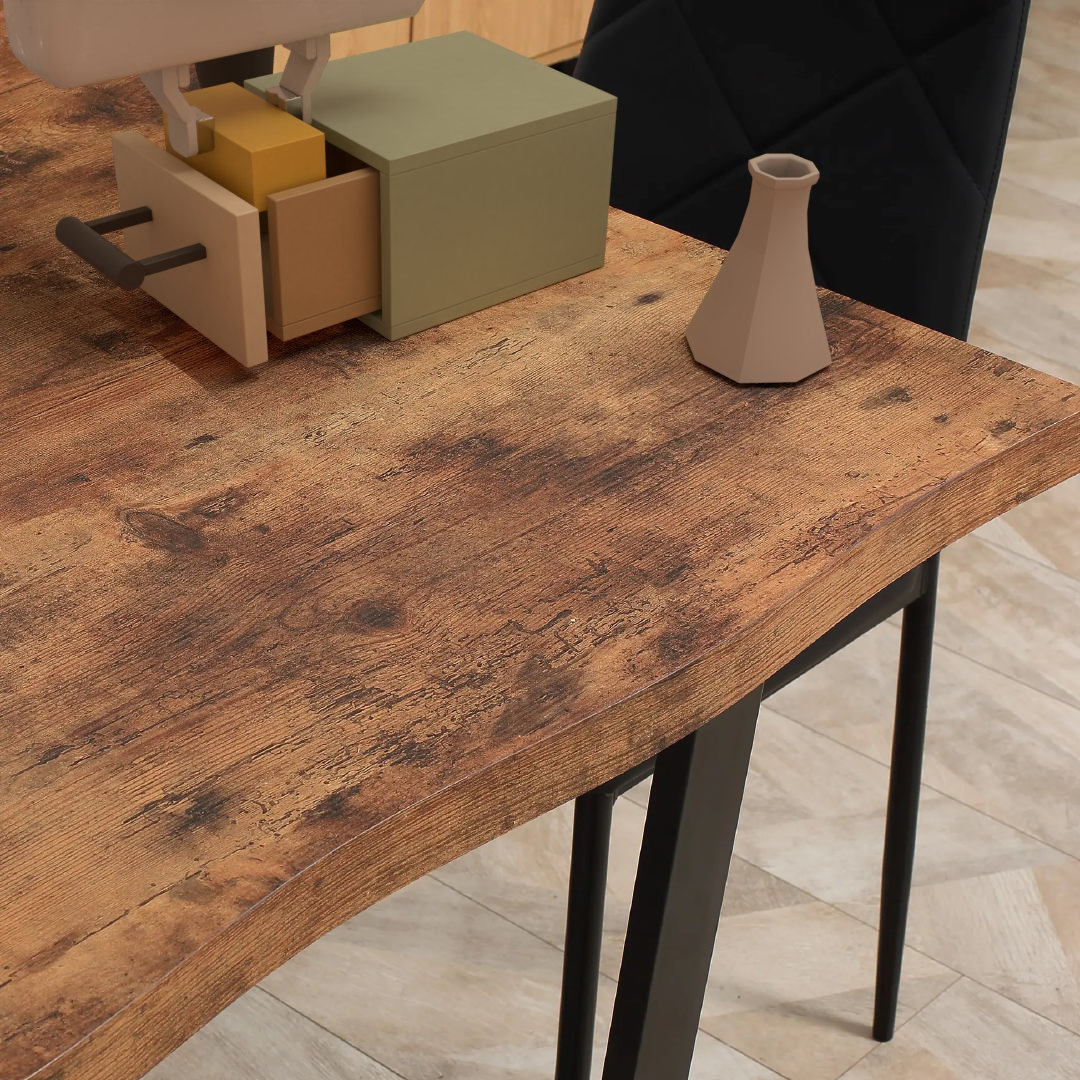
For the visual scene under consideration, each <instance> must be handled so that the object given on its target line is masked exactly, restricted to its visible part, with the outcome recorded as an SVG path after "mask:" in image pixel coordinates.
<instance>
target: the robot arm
mask: <svg viewBox="0 0 1080 1080" xmlns="http://www.w3.org/2000/svg"><path fill="white" fill-rule="evenodd" d="M425 1H426V0H2V4H3V12H4V21H5V27H6V33H7V38H8V43H9V46H10V49H11V52H12V54H13V55H14V56H15V58H16V59H17V60H18V61H19V63H21V64H22V65H23V66H24V67H25V68H26V69H27V70H29V71H30V72H32V74H34V75H36V76H37V77H38V78H40V79H41V80H43V81H45V82H47V84H49V85H51V86H53V87H55V88H57V89H59V90H67V91H68V90H73V89H78V88H84V87H87V86H92V85H97V84H101V83H106V82H110V81H111V82H112V81H115V80H120V79H125V78H130V77H134V76H135V77H136V76H139V80H140V81H141V82H142V83H143V85H144V86H145V88H146V89H147V91H148V92H149V93H150V94H151V96H152V97H153V98H154V100H155V101H156V103H157V104H158V106H159V107H160V108H161V110H162V109H163V111H164V112H166V113H167V121H168V131H169V140H170V144H171V146H172V148H173V149H174V151H176V152H177V153H179V154H180V155H182V156H184V157H185V158H187V157H192V156H195V155H199V154H203V153H206V152H210V151H213V150H214V148H215V141H214V137H213V134H214V130H215V124H214V117H213V116H211V115H210V114H208V113H205V112H202V110H201V109H199V108H198V107H196V106H194V105H193V106H190V105H189V104H188V102H187V101H186V99H185V98H184V96H183V95H182V93H183V92H181V90H180V88H181V89H183V88H188V87H190V85H191V77H190V74H191V73H190V65H191V64H194V63H196V62H201V61H206V60H210V59H215V58H220V57H225V56H229V55H234V54H239V53H244V52H248V51H253V50H258V49H262V48H267V47H272V46H275V47H277V46H282V47H283V48H285V49H286V50H288V51H290V53H289V55H288V58H287V61H286V64H285V66H284V68H283V71H284V72H283V71H282V72H283V74H282V77H281V80H280V83H279V86H275V87H271V88H267V89H265V97H266V101H267V102H269V103H270V104H272V105H274V106H276V107H278V108H279V109H281V110H283V111H285V112H287V113H289V114H290V115H292V116H294V117H296V118H298V119H299V120H301V121H303V122H305V123H307V124H308V125H310V126H311V123H312V113H311V94H312V93H313V92H314V90H315V88H316V86H317V84H318V82H319V79H320V77H321V75H322V73H323V71H324V69H325V67H326V65H327V62H328V61H330V59H331V35H333V34H337V33H342V32H347V31H351V30H356V29H362V28H365V27H366V28H367V27H370V26H375V25H380V24H385V23H390V22H394V21H399V20H404V19H408V18H413V17H415V16H417V14H419V12H420V10H421V8H422V7H423V5H424V3H425Z"/></svg>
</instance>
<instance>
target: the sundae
mask: <svg viewBox="0 0 1080 1080" xmlns="http://www.w3.org/2000/svg"><path fill="white" fill-rule="evenodd" d="M275 50H276V46H272V47H267V48H262V49H258V50H253V51H248V52H244V53H239V54H234V55H229V56H225V57H220V58H215V59H210V60H206V61H201V62H196V63H193V64H194V69H195V74H196V78H197V80H198V83H199V87H200V89H204V88H208V87H213V86H217V85H222V84H226V83H231V82H233V83H235V84H237V85H239V86H240V87H242V88H244V80H248V79H253V78H257V77H261V76H266V75H270V74H274V67H275V66H274V65H275V53H276V52H275Z"/></svg>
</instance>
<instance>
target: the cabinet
mask: <svg viewBox="0 0 1080 1080" xmlns="http://www.w3.org/2000/svg"><path fill="white" fill-rule="evenodd" d="M283 72H284V70H283V71H280V72H276V73H273V74H270V75H266V76H261V77H257V78H253V79H248V80H244V89H246V90H248V91H249V92H251V93H253V94H255V95H257V96H258V97H260V98H262V99H264V100H265V101H266V97H265V89H267V88H271V87H275V86H279V83H280V80H281V77H282V74H283ZM617 109H618V97H617V96H615V95H613V94H611V93H609V92H606V91H604V90H602V89H599V88H597V87H595V86H593V85H591V84H588V83H587V82H584V81H581V80H579V79H577V78H574V77H572V76H570V75H568V74H565V73H563V72H561V71H558V70H556V69H554V68H553V67H550V66H548V65H546V64H543V63H541V62H539V61H537V60H534V59H532V58H530V57H527V56H525V55H523V54H520V53H518V52H516V51H513V50H512V49H509V48H507V47H505V46H502V45H500V44H498V43H496V42H494V41H491V40H489V39H487V38H485V37H482V36H480V35H478V34H475V33H474V32H471V31H468V30H466V29H464V30H460V31H455V32H451V33H447V34H443V35H437V36H433V37H430V38H424V39H420V40H416V41H412V42H408V43H402V44H399V45H394V46H390V47H385V48H381V49H377V50H372V51H367V52H364V53H359V54H355V55H350V56H346V57H341V58H336V59H332V60H328V62H327V65H326V67H325V69H324V71H323V73H322V75H321V77H320V79H319V82H318V84H317V86H316V88H315V90H314V92H313V93H312V94H311V113H312V123H311V126H312V127H314V128H316V129H317V130H319V131H321V132H323V133H324V134H325V140H326V141H328V142H329V143H331V144H333V145H335V146H336V147H338V148H340V149H342V150H344V151H345V152H347V153H349V154H351V155H353V156H354V157H356V158H358V159H360V160H362V161H363V162H365V163H367V164H369V165H370V166H372V167H374V168H376V169H378V170H379V171H381V172H380V202H381V267H382V309H379V310H376V311H373V312H370V313H367V314H364V315H361V316H358V317H355V318H356V319H357V320H358V321H360V322H362V323H363V324H364V325H366V327H367V326H368V328H369V329H370V328H371V329H372V330H373V331H375V332H377V334H379V335H381V336H382V337H384V338H385V339H387V340H388V341H390V342H394V341H397V340H400V339H403V338H407V337H409V336H411V335H414V334H417V333H420V332H423V331H425V330H428V329H431V328H434V327H436V326H437V327H438V326H440V325H441V324H445V323H448V322H451V321H453V320H456V319H458V318H463V317H464V316H468V315H470V314H473V313H476V312H478V311H481V310H485V309H487V308H490V307H493V306H495V305H496V306H497V305H499V304H501V303H504V302H506V301H509V300H510V301H511V300H512V299H514V298H517V297H518V298H519V297H520V296H524V295H526V294H530V293H532V292H534V291H537V290H540V289H543V288H546V287H549V286H552V285H554V284H557V283H560V282H562V281H566V280H568V279H571V278H575V277H576V276H577V277H578V276H580V275H583V274H585V273H588V272H591V271H593V270H596V269H599V268H603V267H604V266H605V260H606V248H607V247H606V246H607V235H608V225H609V224H608V221H609V209H610V198H611V197H610V196H611V187H612V186H611V185H612V184H611V183H612V169H613V158H614V147H615V146H614V144H615V133H616V121H617ZM355 318H354V319H355Z"/></svg>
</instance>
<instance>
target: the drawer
mask: <svg viewBox="0 0 1080 1080" xmlns="http://www.w3.org/2000/svg"><path fill="white" fill-rule="evenodd" d="M163 134H164V133H163ZM164 136H165V134H164ZM110 138H111V147H112V155H113V163H114V173H115V179H116V180H115V181H116V187H117V195H118V196H117V197H118V204H119V212H117V213H113V214H110V215H106V216H102V217H99V218H95V219H91V220H88V221H84V222H83V221H82V220H80V219H79V218H78V217H76V216H74V215H73V216H72V215H69V216H68V215H67V216H64V217H62V218H61V219H60V220H59V221H58V222H57V224H56V226H55V230H54V232H55V233H54V234H55V238H56V239H57V241H58V242H59V243H60V244H62V245H63V246H64V247H65V248H67V249H68V250H69V251H71V252H72V253H73V254H74V255H76V256H77V257H79V258H80V260H82V261H84V262H85V263H86V264H88V265H89V266H91V268H93V269H94V270H96V271H97V272H98V273H100V274H101V275H102V276H103V277H105V278H106V279H108V280H109V281H110V282H112V284H114V285H115V286H116V287H118V288H119V289H121V290H122V291H125V292H134V291H135V290H137V289H139V288H140V289H142V291H144V292H145V293H146V294H148V296H149V295H150V297H152V298H153V299H154V300H156V301H158V303H160V304H161V305H163V306H164V307H165V308H167V309H168V310H169V311H171V312H172V313H173V314H175V315H176V317H177V316H178V317H179V318H180V319H181V320H182V321H184V322H185V323H187V324H188V325H189V326H190V327H192V328H193V329H195V331H197V332H199V333H200V334H201V335H203V336H204V337H205V338H207V339H208V340H209V341H211V342H212V343H213V344H214V345H216V346H217V347H219V348H220V349H221V350H223V351H224V352H225V353H227V355H229V356H230V357H232V358H233V359H235V360H236V361H237V362H238V363H240V364H241V365H243V366H244V367H245V368H247V369H249V368H252V367H255V366H258V365H261V364H264V363H266V362H268V361H269V354H268V352H269V350H268V336H267V332H269V333H271V334H272V335H273V336H275V337H276V338H278V339H279V340H281V342H288V341H290V340H293V339H296V338H299V337H302V336H305V335H309V334H311V333H314V332H316V331H320V330H322V329H325V328H328V327H331V326H335V325H337V324H340V323H343V322H346V321H349V320H352V319H355V317H358V316H361V315H364V314H367V313H370V312H373V311H376V310H379V309H382V267H381V202H380V172H381V171H379V170H378V169H376V168H374V167H372V166H370V165H369V164H367V163H365V162H363V161H362V160H360V159H358V158H356V157H354V156H353V155H351V154H349V153H347V152H345V151H344V150H342V149H340V148H338V147H336V146H335V145H333V144H331V143H329V142H328V141H326V140H325V163H326V179H325V180H321V181H317V182H314V183H310V184H306V185H303V186H299V187H296V188H292V189H288V190H285V191H281V192H278V193H274V194H270V195H267V210H266V211H262V212H259V213H258V209H256V208H255V207H253V206H252V205H250V204H249V203H247V202H245V201H244V200H242V199H241V198H239V197H238V196H236V195H234V194H233V193H231V192H230V191H228V190H227V189H225V188H223V187H222V186H220V185H219V184H217V183H216V182H214V181H212V180H211V179H209V178H208V177H206V176H204V175H203V174H201V173H200V172H198V171H197V170H195V169H193V168H192V167H190V166H189V165H187V164H186V163H184V162H182V161H181V160H179V159H178V158H176V157H175V156H173V155H171V154H170V153H168V152H167V151H166V149H164V148H162V147H160V146H159V145H158V144H157V143H154V142H152V141H151V140H149V139H148V138H146V137H145V136H144V135H141V134H140V133H138V132H137V131H135V130H134V129H129V130H125V131H120V132H115V133H112V134H110ZM164 145H165V146H166V144H165V143H164ZM121 230H122V235H123V236H122V237H123V245H124V251H123V250H122V249H120V248H119V247H118V246H116V245H115V244H114V243H112V242H110V241H109V240H108V239H106V238H105V237H104V236H103V235H106V234H109V233H113V232H116V231H121Z"/></svg>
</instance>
